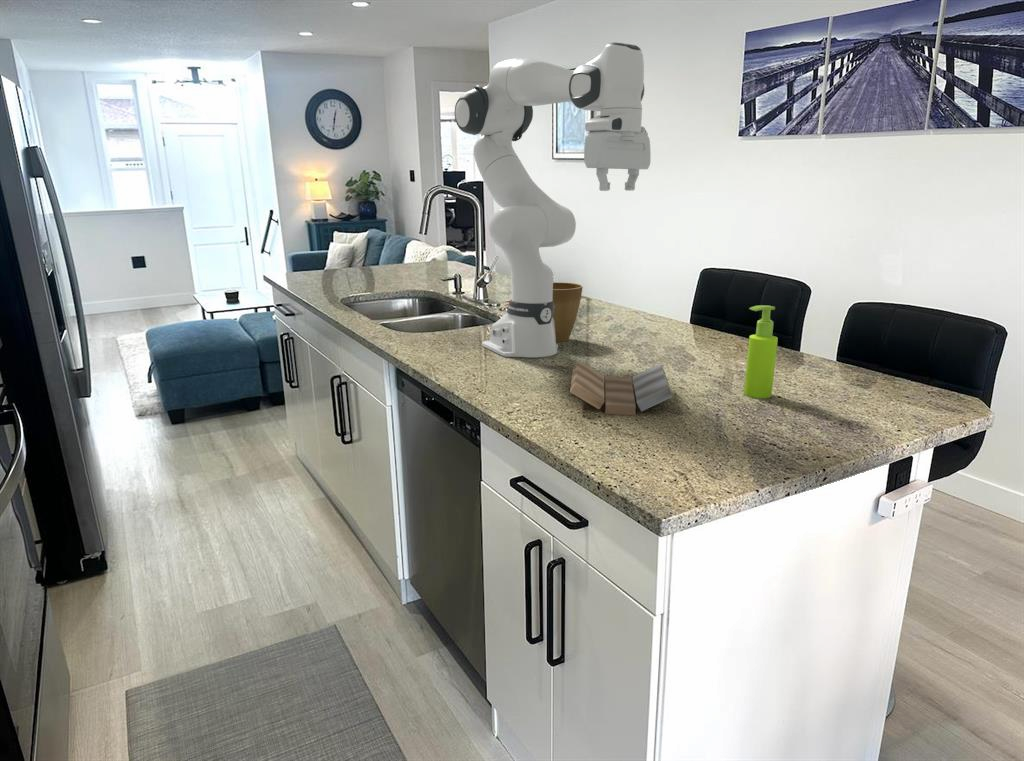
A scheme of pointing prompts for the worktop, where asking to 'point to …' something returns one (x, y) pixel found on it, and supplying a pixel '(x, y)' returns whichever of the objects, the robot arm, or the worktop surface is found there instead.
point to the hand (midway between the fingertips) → (617, 190)
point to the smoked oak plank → (587, 384)
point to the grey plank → (651, 387)
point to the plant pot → (565, 308)
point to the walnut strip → (619, 396)
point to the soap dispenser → (761, 356)
